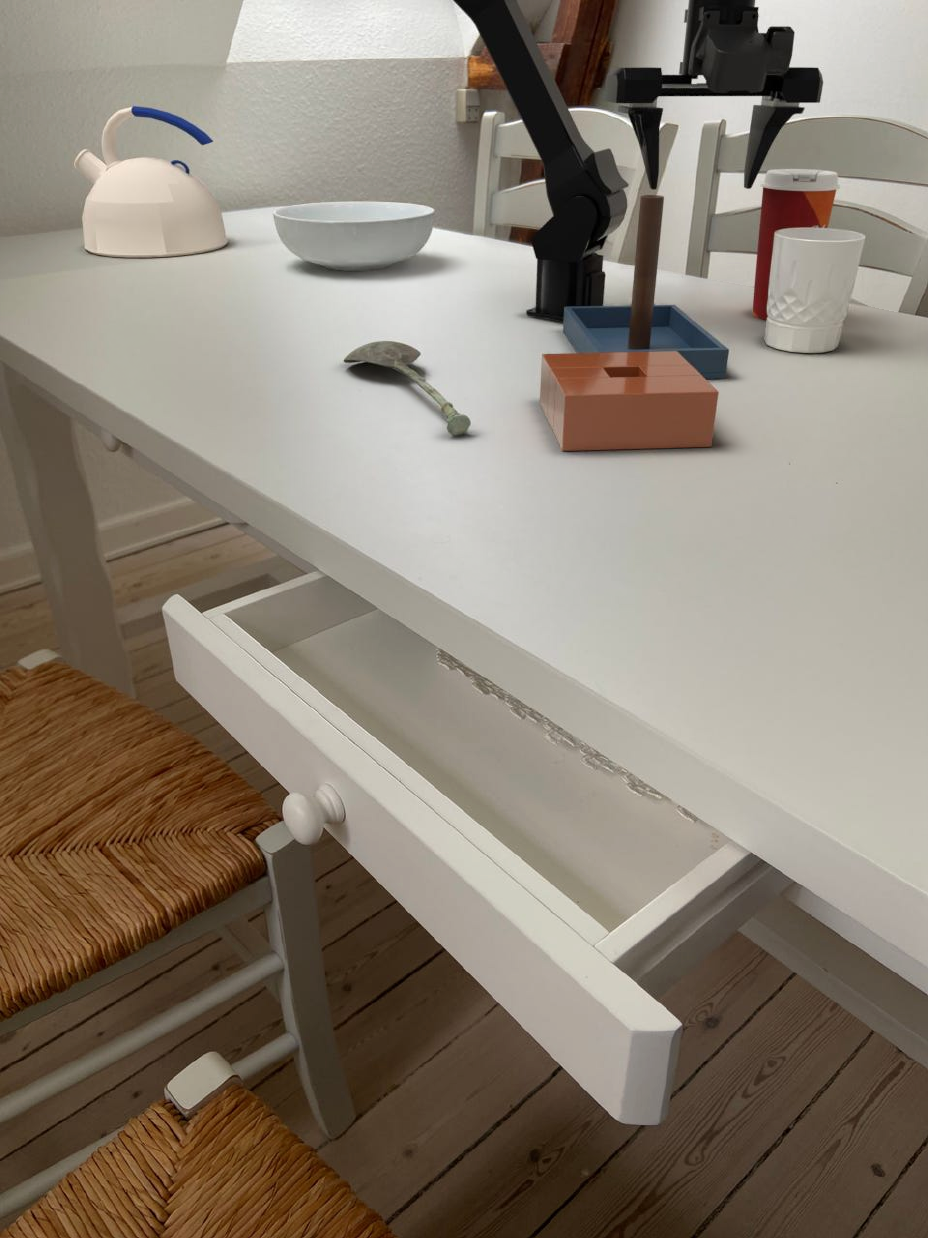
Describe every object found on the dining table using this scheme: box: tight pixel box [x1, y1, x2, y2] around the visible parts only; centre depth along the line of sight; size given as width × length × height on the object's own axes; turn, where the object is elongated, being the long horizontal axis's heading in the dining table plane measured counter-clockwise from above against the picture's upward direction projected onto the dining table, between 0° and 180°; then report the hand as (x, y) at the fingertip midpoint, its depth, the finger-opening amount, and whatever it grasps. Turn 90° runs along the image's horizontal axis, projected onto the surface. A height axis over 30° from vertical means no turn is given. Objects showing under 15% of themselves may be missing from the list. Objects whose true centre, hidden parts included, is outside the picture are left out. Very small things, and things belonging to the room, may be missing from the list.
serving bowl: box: [272, 201, 436, 272], centre depth 127 cm, size 21×21×7 cm
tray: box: [562, 304, 730, 380], centre depth 89 cm, size 17×11×2 cm, turn 5°
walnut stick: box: [628, 194, 665, 350], centre depth 87 cm, size 2×2×13 cm
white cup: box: [763, 227, 866, 354], centre depth 90 cm, size 8×8×10 cm
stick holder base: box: [539, 351, 719, 452], centre depth 72 cm, size 11×11×4 cm
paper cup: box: [752, 168, 841, 321], centre depth 100 cm, size 8×8×14 cm
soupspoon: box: [343, 340, 471, 436], centre depth 78 cm, size 22×3×7 cm
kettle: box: [73, 105, 229, 259], centre depth 137 cm, size 20×21×18 cm
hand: (700, 188), depth 92 cm, fingers open, 9 cm apart
